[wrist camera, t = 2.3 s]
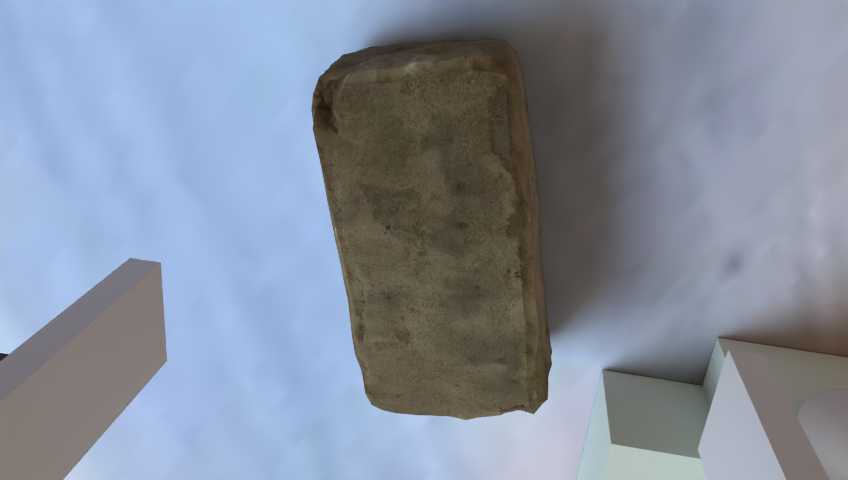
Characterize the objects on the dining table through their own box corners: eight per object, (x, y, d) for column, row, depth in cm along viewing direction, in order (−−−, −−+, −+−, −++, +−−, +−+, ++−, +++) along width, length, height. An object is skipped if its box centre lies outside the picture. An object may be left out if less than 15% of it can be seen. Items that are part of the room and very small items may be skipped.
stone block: (522, 18, 22) (516, 46, 17) (555, 346, 26) (557, 437, 22) (337, 44, 23) (285, 78, 18) (399, 354, 27) (370, 442, 23)
